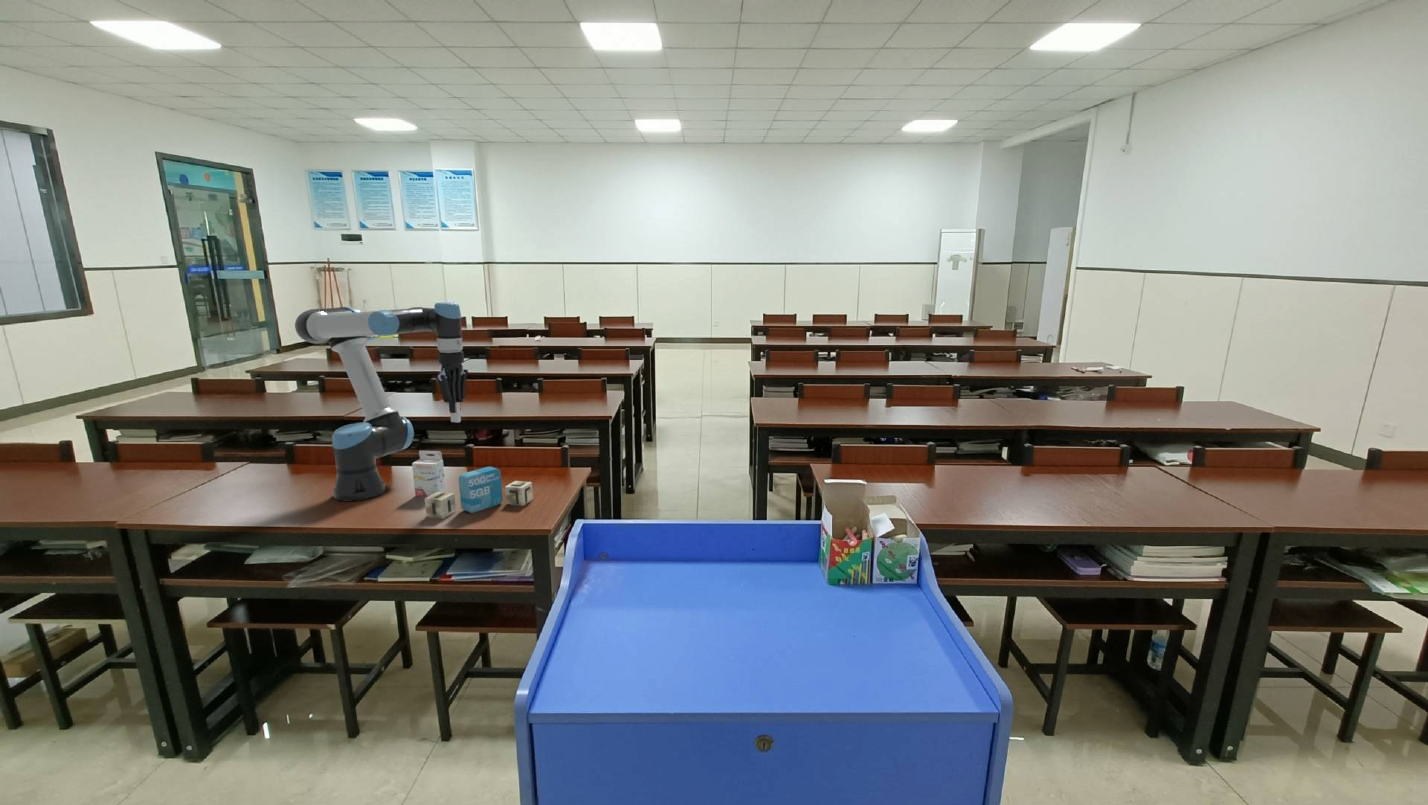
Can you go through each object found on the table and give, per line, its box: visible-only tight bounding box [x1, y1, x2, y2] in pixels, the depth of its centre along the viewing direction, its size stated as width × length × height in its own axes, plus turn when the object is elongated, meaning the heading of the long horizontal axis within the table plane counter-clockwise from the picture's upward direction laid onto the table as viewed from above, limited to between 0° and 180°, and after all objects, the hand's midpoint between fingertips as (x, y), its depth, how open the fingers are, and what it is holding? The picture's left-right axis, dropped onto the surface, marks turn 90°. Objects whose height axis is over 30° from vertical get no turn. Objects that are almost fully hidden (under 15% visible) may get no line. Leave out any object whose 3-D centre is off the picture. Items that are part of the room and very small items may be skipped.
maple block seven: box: [504, 480, 534, 507], centre depth 201 cm, size 6×6×6 cm
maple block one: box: [424, 492, 457, 520], centre depth 191 cm, size 6×6×6 cm
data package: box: [458, 466, 504, 514], centre depth 196 cm, size 12×4×12 cm, turn 141°
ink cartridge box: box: [411, 450, 447, 498], centre depth 207 cm, size 9×5×15 cm, turn 84°
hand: (456, 421), depth 205 cm, fingers closed
